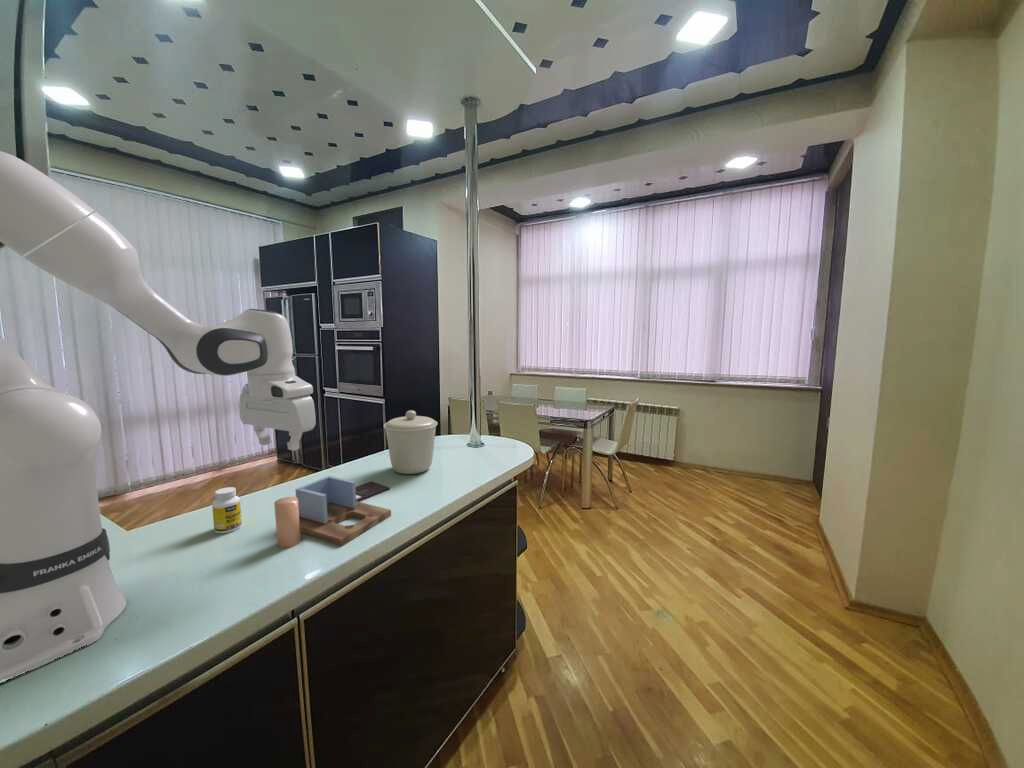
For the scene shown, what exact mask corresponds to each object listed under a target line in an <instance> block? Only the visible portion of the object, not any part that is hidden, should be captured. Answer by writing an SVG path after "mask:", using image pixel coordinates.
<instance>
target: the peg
mask: <svg viewBox="0 0 1024 768" xmlns="http://www.w3.org/2000/svg"><path fill="white" fill-rule="evenodd" d="M273 503H274V505H273V506H274V514H275V515H274V517H275V528H276V532H275V533H276V541H277V542H276V543H277V547H278V548H279V549H287V548H292V547H295V546H296V545H299V544H300V543H301V542H302V541H301V540H302V538H301V533H300V521H299V506H298V498H297V497H296V496H286V497H283V498H279V499H277V500H276V501H274V502H273Z"/></svg>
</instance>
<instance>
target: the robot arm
mask: <svg viewBox="0 0 1024 768" xmlns="http://www.w3.org/2000/svg"><path fill="white" fill-rule="evenodd" d="M94 211H95V209H94V208H92V207H91V206H89V204H87V203H86V202H85V201H83V200H82V199H81V198H80V197H78V196H77V195H75V194H74V193H73V192H71V191H70V190H68V189H67V188H66V187H64V186H63V185H61V184H60V183H59V182H57V181H55V180H54V179H52V178H51V177H50V176H48V175H46V174H45V173H43V172H42V171H40V170H39V169H37V168H36V167H34V166H32V165H31V164H29V163H27V162H26V161H24V160H23V159H21V158H18V157H17V156H15V155H13V154H10V153H8V152H5V151H1V150H0V243H1V244H3V245H4V246H6V247H8V248H9V249H11V250H12V251H13V252H15V253H16V254H18V255H19V256H21V257H22V256H23V258H24V259H26V260H27V261H29V262H30V263H32V264H33V265H35V266H37V267H38V268H40V269H42V270H43V271H45V272H47V273H48V274H50V275H52V276H53V277H55V278H56V279H59V280H61V281H62V282H64V283H66V284H68V285H69V286H72V288H73V287H74V288H75V289H78V290H80V291H82V292H83V293H85V294H87V295H89V296H91V297H93V298H95V299H97V300H100V302H103V303H104V304H106V305H108V306H110V307H111V308H113V309H114V310H116V311H117V312H119V313H120V314H122V315H123V316H125V317H126V318H127V319H128V320H130V321H132V322H133V323H134V324H135V325H137V326H138V327H140V328H141V329H142V330H145V332H147V333H149V334H150V335H151V336H152V337H154V338H155V339H156V340H157V341H158V342H160V344H162V346H163V348H164V349H165V350H166V352H167V353H168V356H169V357H170V358H171V359H172V361H173V362H174V363H175V364H176V366H178V367H179V368H181V369H182V370H183V371H186V372H188V373H192V374H195V375H197V374H198V375H211V376H220V377H230V376H235V375H237V374H241V373H244V372H245V373H246V378H247V379H246V380H247V383H246V384H244V386H243V387H242V388H241V394H240V396H239V419H240V421H241V423H242V424H243V425H248V426H252V427H253V431H254V433H255V435H256V436H257V438H258V445H261V446H267V445H270V444H271V443H272V442H271V441H272V440H271V436H270V435H268V432H267V430H266V429H271V430H272V429H273V430H279V431H285V432H288V436H290V438H289V439H290V440H289V441H287V443H286V444H287V445H286V446H287V450H289V451H293V452H294V451H297V450H300V441H301V438H302V436H303V433H306V432H309V431H312V430H313V429H314V428H315V426H316V421H317V420H316V410H315V401H314V399H313V398H312V396H311V394H313V393H314V386H313V385H312V384H311V383H309V382H307V381H305V380H303V379H302V378H300V377H299V376H297V375H296V371H295V370H296V369H295V367H294V364H293V354H294V349H293V341H292V339H293V338H292V333H291V329H290V324H289V322H288V319H287V318H286V317H285V316H284V315H283V314H281V313H279V312H276V311H273V310H272V311H271V310H268V309H266V310H265V309H258V308H248V309H244V310H243V312H242V313H240V314H239V315H236V316H235V317H233V318H232V319H230V320H229V319H228V320H227V321H224V322H221V323H218V324H216V325H213V326H212V325H210V326H209V325H205V324H200V323H198V322H195V321H193V320H191V319H189V318H187V317H186V316H185V315H183V314H182V313H181V312H180V311H178V309H176V308H175V307H173V306H172V304H170V303H169V302H167V300H165V299H164V298H162V297H161V296H160V295H159V294H158V293H156V292H155V291H154V290H153V289H152V288H151V287H150V286H149V284H148V283H147V282H146V280H145V279H144V277H143V274H142V270H141V266H140V258H139V254H138V252H137V249H136V248H135V247H134V245H132V244H131V242H130V241H129V240H128V239H127V238H126V237H125V236H124V235H123V234H122V233H121V232H120V231H119V230H118V229H117V228H116V227H115V226H114V225H113V224H112V223H111V222H109V220H107V219H106V218H105V217H104V216H102V215H101V214H99V212H97V211H95V212H94ZM86 216H87V217H86ZM70 226H71V227H70ZM67 228H68V229H67ZM59 233H60V234H59ZM54 236H55V237H54ZM48 240H49V241H48ZM45 242H46V243H45ZM43 243H44V244H43ZM40 245H41V246H40ZM35 248H36V249H35ZM31 251H32V252H31ZM27 253H28V254H27ZM26 254H27V255H26ZM24 255H25V256H24ZM101 436H102V425H101V422H100V419H99V416H98V414H97V413H96V411H95V410H94V409H93V408H92V406H90V405H89V404H88V403H87V402H85V401H84V400H82V399H81V398H78V397H76V396H73V395H70V394H68V393H63V392H62V391H60V390H58V389H56V388H55V387H53V386H52V385H51V384H50V383H49V382H47V381H46V379H44V378H43V377H42V376H41V375H40V374H39V373H38V372H37V371H36V370H35V369H34V368H32V367H31V366H30V365H29V363H27V362H26V361H25V360H24V359H23V357H21V356H20V355H19V354H18V353H17V352H16V351H15V350H14V349H13V347H11V346H10V345H9V344H8V342H7V341H6V340H5V339H4V338H2V337H1V336H0V681H1V680H3V679H7V678H10V677H13V676H16V675H18V674H21V673H23V672H27V671H29V672H31V671H33V670H36V669H38V668H40V667H42V666H44V665H46V664H49V663H51V662H53V661H55V659H56V660H57V658H58V659H60V658H62V657H65V656H67V655H69V654H71V653H74V652H75V651H74V650H76V651H78V650H80V649H82V648H81V647H83V646H85V647H87V646H90V645H91V644H93V643H95V642H96V641H98V640H99V639H100V638H101V636H102V635H103V633H104V632H105V629H106V628H107V627H108V626H109V625H110V624H111V623H112V622H113V621H114V620H116V619H117V617H119V615H120V614H122V612H123V611H124V609H125V608H126V606H127V599H126V597H125V596H124V595H123V593H122V592H121V590H120V588H119V586H118V584H117V581H116V579H115V577H114V574H113V572H112V569H111V566H110V562H109V561H110V560H111V559H110V558H111V555H110V553H111V548H110V547H111V546H110V541H109V536H108V534H107V530H106V528H104V527H103V525H102V520H101V519H102V518H101V509H100V503H99V496H98V487H97V485H98V484H97V481H98V480H97V479H98V469H99V455H100V439H101ZM94 641H95V642H94ZM86 645H87V646H86ZM79 648H80V649H79ZM83 648H84V647H83ZM77 649H78V650H77ZM73 651H74V652H73ZM68 653H69V654H68ZM66 654H67V655H66ZM64 655H65V656H64ZM59 657H60V658H59ZM30 670H31V671H30ZM27 673H28V672H27Z"/></svg>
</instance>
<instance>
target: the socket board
mask: <svg viewBox="0 0 1024 768" xmlns="http://www.w3.org/2000/svg"><path fill="white" fill-rule="evenodd" d="M391 516H392V510H391V509H389V508H384V507H380V506H377V505H373V504H369V503H365V502H362V501H360V502H358V501H356V507H355V508H350V507H346V506H342V505H339V504H335V503H331V502H329V503H327V517H328V522H327V523H325V524H324V523H320V522H317V521H313V520H310V519H307V518H303V517H300V516H299V521H300V534H303V535H307V536H309V537H313V538H316V539H319V540H323V541H325V542H329V543H331V544H334V545H338V546H340V547H343V546H344V545H346V544H349V542H351V541H353V540H354V539H357V537H359V536H360V535H362V534H364V533H366V532H368V531H369V530H370V529H372V528H373V527H375V526H377V525H378V524H380V523H381V522H383V521H385V520H387V519H388V518H389V517H391ZM352 518H356V519H359V521H357V522H356V523H353V524H350V525H343V524H342V522H344V521H346V520H348V519H352ZM340 523H341V524H340Z"/></svg>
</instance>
